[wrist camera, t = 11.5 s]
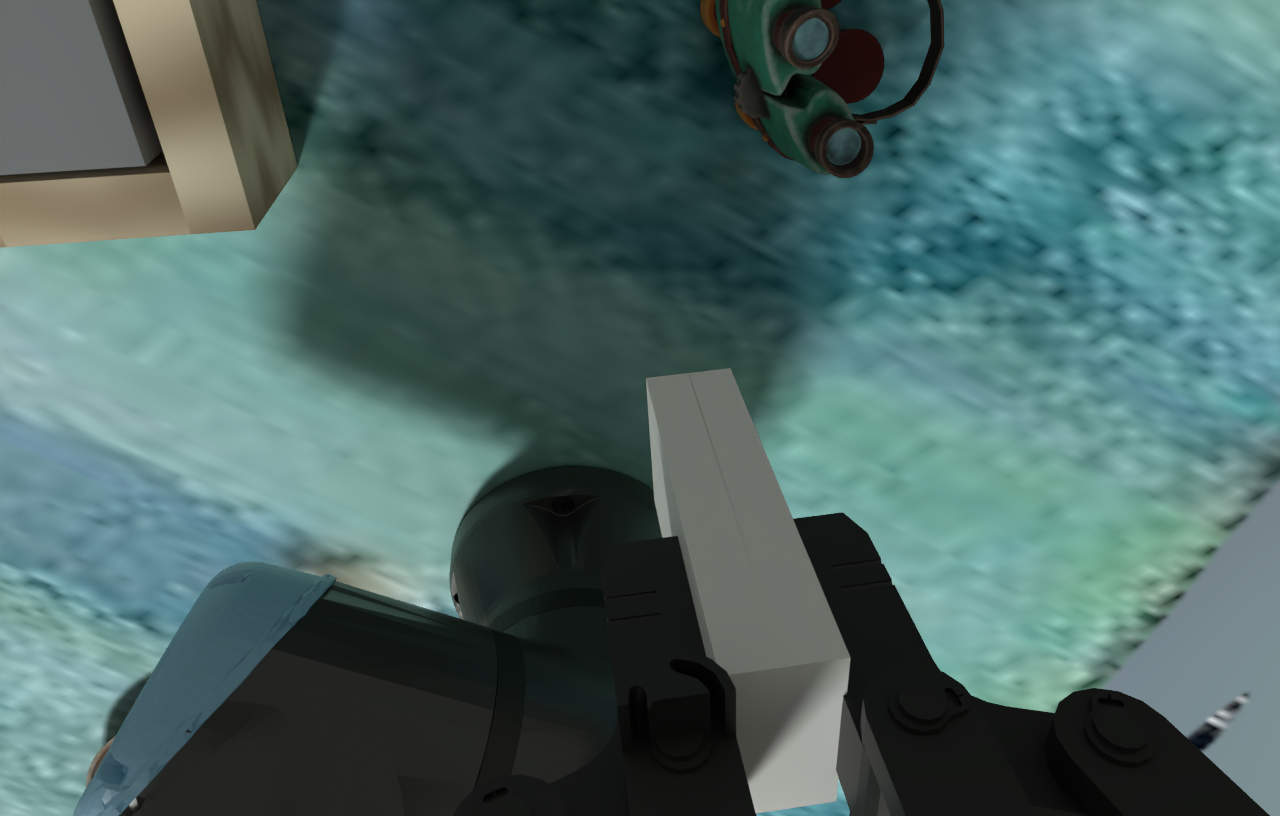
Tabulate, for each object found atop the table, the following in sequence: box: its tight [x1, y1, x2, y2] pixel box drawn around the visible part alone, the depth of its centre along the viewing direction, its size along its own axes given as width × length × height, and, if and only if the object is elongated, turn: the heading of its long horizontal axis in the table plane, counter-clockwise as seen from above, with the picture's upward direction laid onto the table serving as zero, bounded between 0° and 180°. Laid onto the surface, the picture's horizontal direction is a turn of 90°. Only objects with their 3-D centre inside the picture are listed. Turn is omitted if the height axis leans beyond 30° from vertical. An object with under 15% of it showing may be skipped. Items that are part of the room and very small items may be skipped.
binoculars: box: [700, 0, 944, 178], centre depth 37 cm, size 9×11×10 cm
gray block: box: [0, 0, 163, 175], centre depth 34 cm, size 6×6×8 cm
